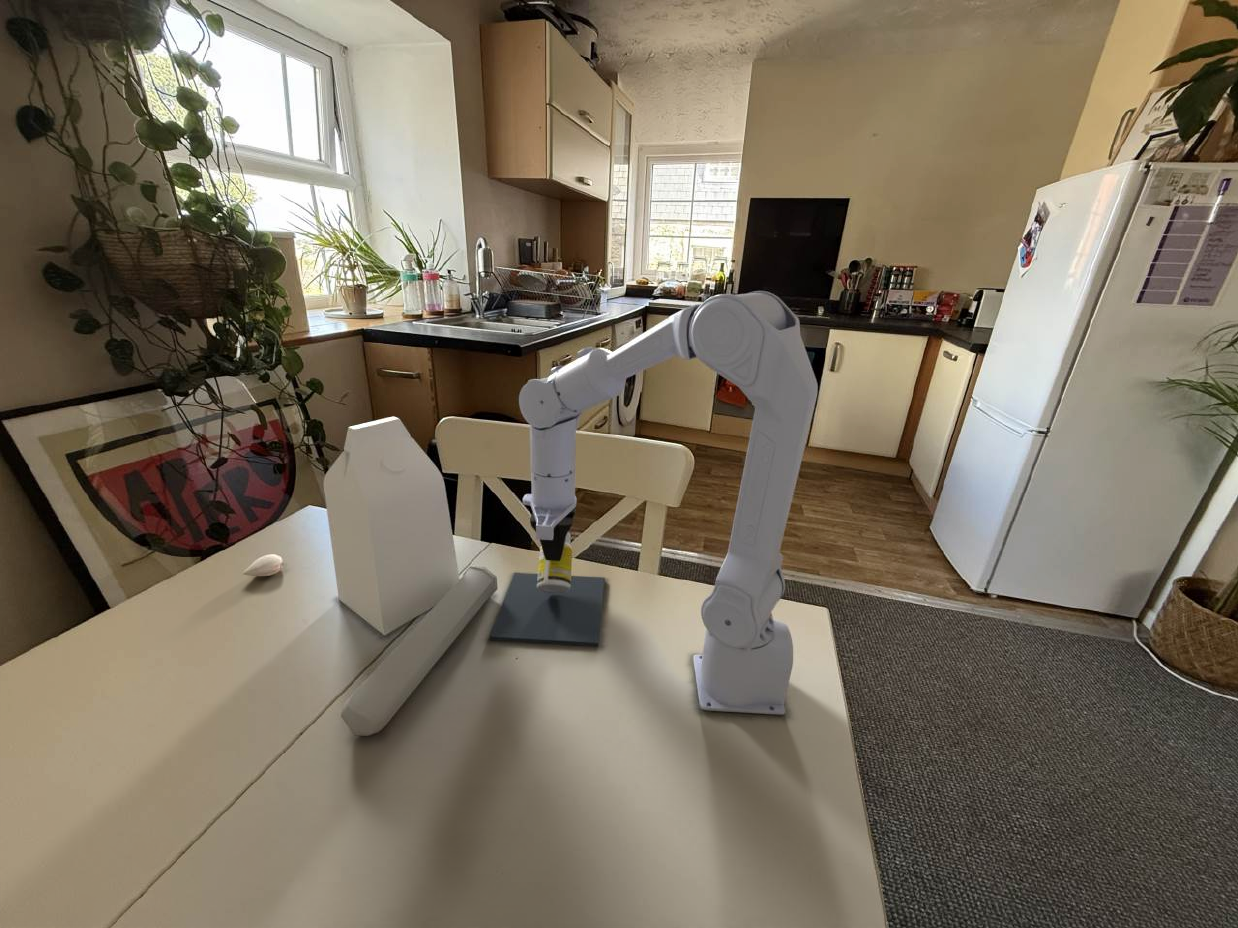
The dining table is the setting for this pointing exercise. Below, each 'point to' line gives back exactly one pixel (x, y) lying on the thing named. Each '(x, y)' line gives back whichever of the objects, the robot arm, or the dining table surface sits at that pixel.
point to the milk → (389, 526)
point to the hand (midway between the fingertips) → (553, 557)
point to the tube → (417, 654)
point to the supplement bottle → (555, 571)
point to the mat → (551, 612)
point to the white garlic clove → (265, 566)
